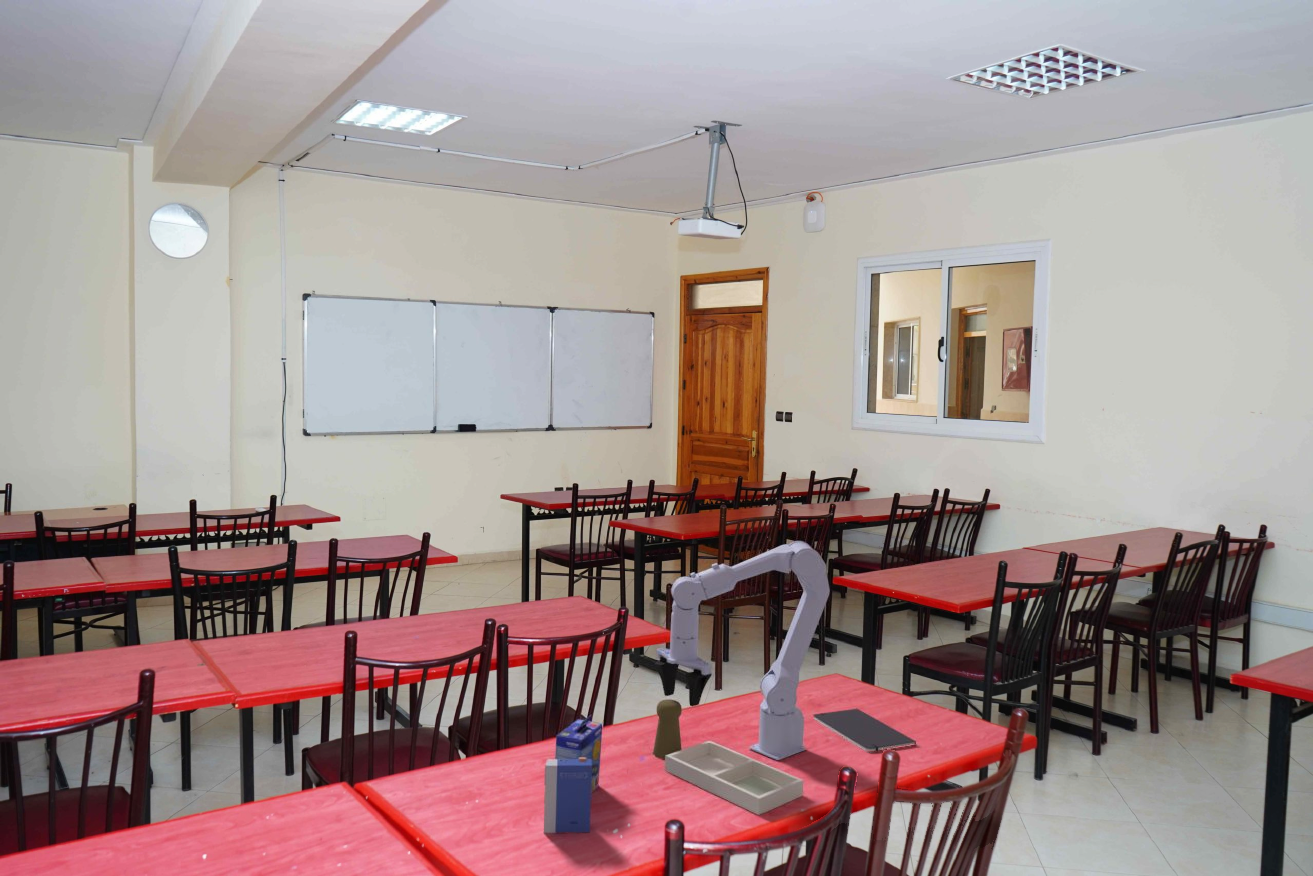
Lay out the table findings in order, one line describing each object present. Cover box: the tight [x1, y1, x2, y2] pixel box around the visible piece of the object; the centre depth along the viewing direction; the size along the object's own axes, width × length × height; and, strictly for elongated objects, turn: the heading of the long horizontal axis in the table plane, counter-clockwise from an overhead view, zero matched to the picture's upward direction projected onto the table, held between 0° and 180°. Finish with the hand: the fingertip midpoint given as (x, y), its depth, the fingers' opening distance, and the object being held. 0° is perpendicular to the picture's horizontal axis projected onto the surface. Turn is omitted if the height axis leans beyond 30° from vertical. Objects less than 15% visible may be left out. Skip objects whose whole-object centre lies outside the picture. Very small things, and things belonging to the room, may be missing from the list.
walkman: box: [543, 757, 592, 834], centre depth 159 cm, size 8×3×12 cm, turn 96°
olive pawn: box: [652, 699, 683, 760], centre depth 193 cm, size 6×6×11 cm
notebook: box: [813, 708, 917, 752], centre depth 210 cm, size 13×2×21 cm
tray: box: [664, 740, 804, 816], centre depth 180 cm, size 13×24×3 cm, turn 43°
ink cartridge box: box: [554, 714, 603, 793], centre depth 173 cm, size 10×6×14 cm, turn 160°
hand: (681, 700), depth 195 cm, fingers open, 7 cm apart
